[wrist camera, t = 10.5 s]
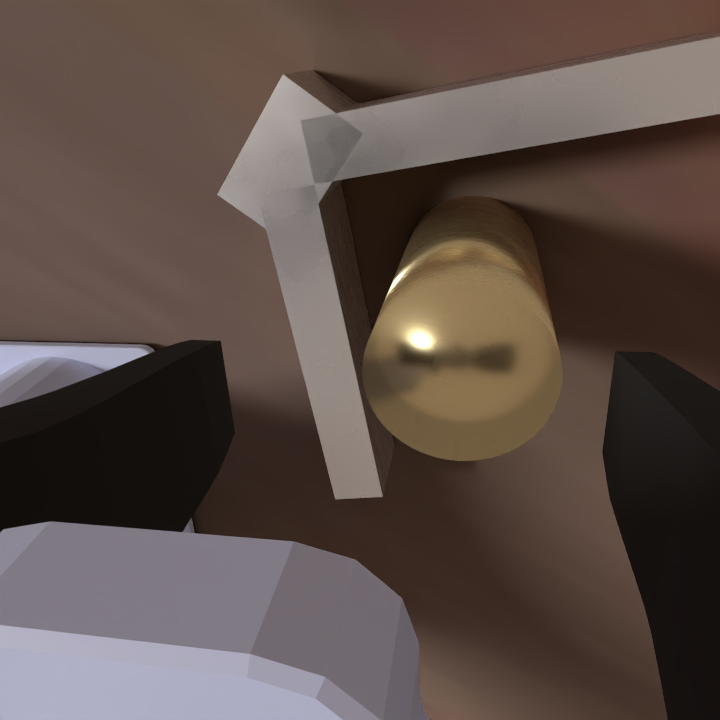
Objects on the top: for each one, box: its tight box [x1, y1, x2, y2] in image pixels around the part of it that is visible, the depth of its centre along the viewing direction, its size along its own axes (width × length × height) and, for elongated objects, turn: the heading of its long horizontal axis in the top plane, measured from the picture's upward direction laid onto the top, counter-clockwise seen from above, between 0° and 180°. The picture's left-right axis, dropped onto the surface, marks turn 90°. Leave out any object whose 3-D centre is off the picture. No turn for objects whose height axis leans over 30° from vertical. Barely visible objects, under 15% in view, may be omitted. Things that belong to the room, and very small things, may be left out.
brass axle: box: [362, 196, 562, 461], centre depth 17 cm, size 4×4×8 cm
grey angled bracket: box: [217, 33, 720, 499], centre depth 19 cm, size 9×16×3 cm, turn 146°
